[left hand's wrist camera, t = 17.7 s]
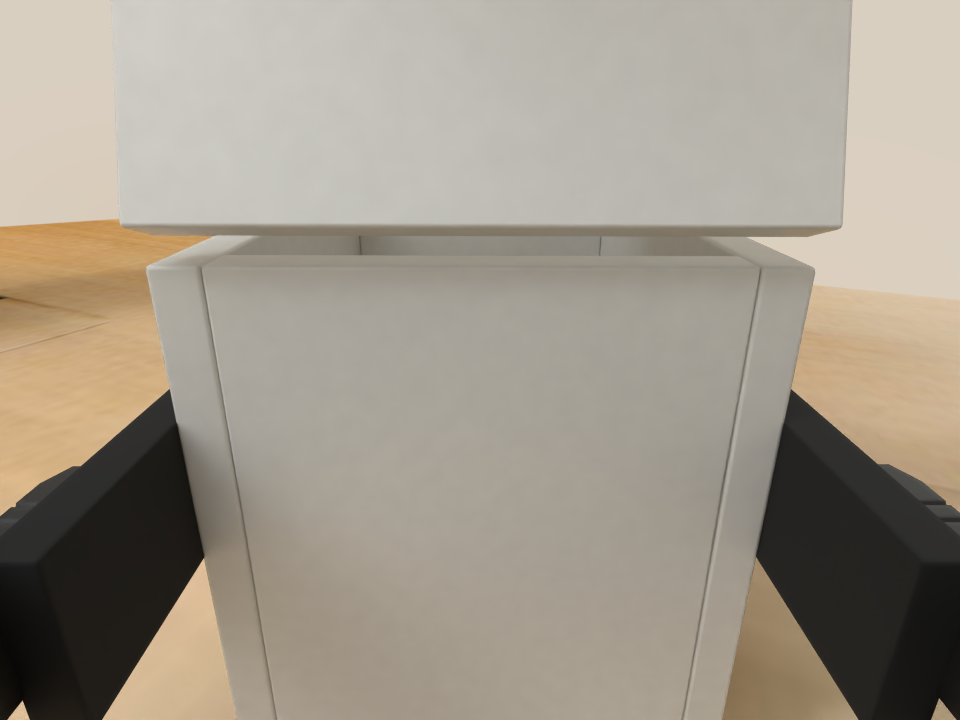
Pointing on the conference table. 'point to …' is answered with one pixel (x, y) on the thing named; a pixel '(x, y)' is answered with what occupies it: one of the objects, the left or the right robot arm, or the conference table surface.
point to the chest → (480, 466)
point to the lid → (481, 117)
